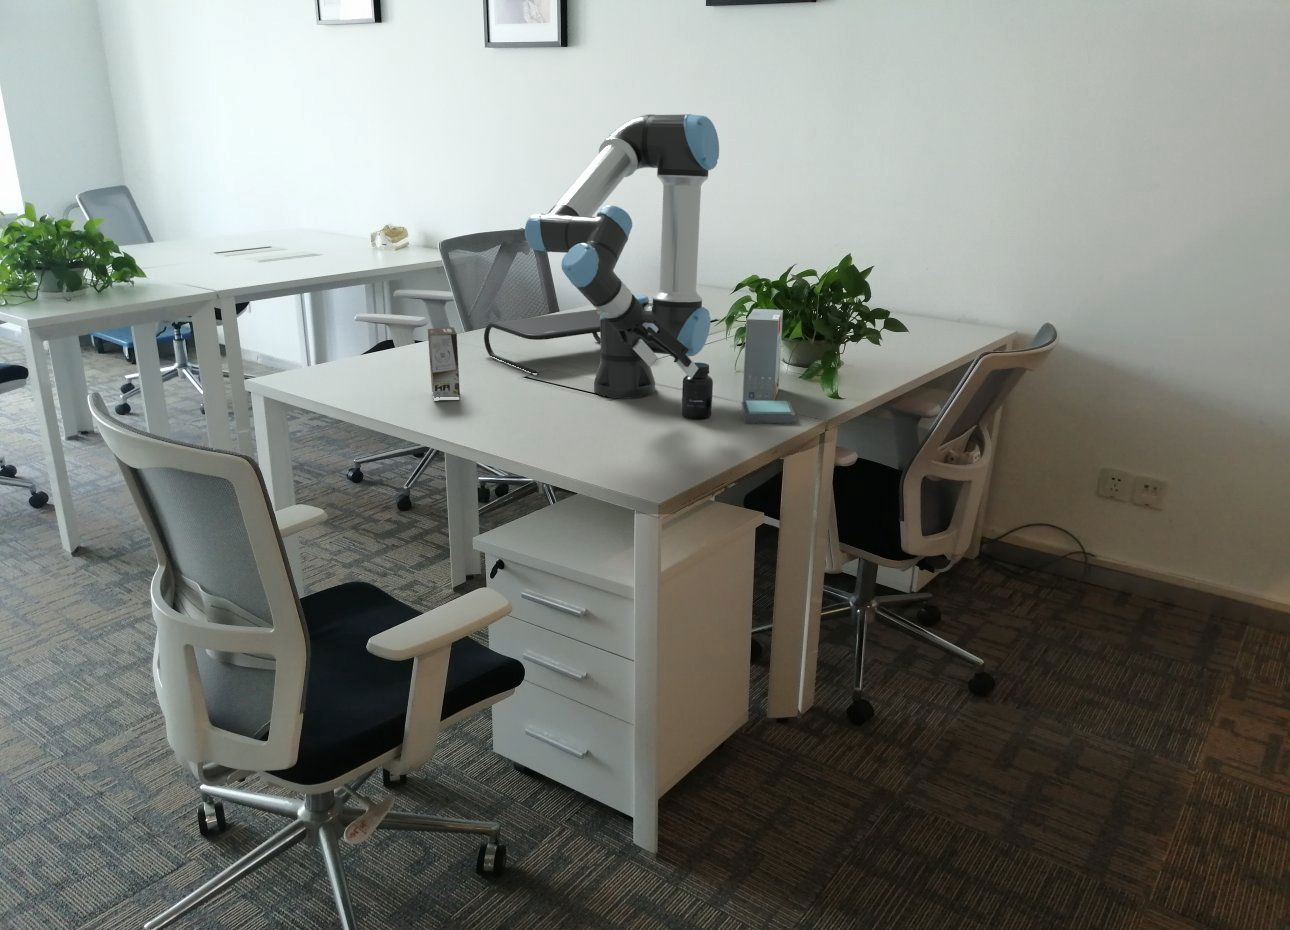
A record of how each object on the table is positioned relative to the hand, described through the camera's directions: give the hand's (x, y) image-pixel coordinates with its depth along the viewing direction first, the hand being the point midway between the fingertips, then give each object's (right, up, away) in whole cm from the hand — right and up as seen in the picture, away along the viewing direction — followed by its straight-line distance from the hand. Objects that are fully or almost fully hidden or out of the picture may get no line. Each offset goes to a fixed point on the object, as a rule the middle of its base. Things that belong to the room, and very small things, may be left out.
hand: (673, 367), depth 224 cm
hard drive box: (+22, -4, +27) cm, 35 cm away
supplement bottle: (+6, -10, +9) cm, 15 cm away
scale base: (+22, -10, +9) cm, 26 cm away
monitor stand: (-28, +9, +66) cm, 72 cm away
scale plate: (+22, -9, +9) cm, 25 cm away
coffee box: (-54, -5, +25) cm, 60 cm away
